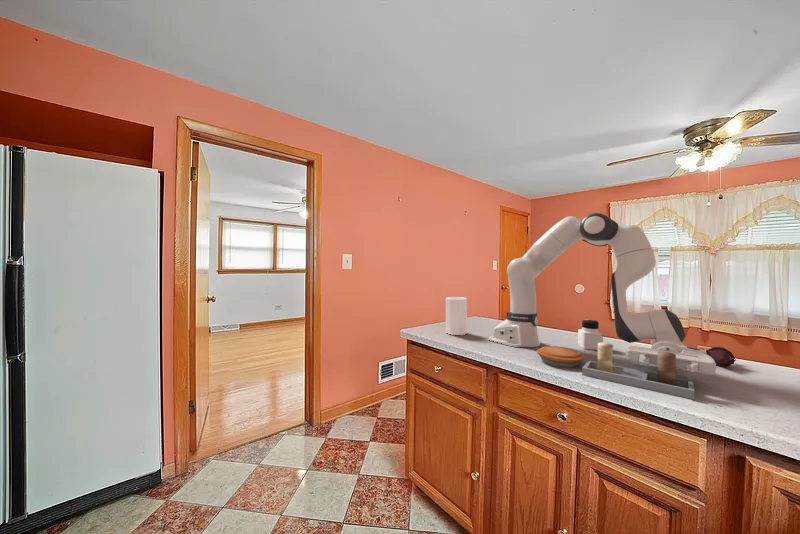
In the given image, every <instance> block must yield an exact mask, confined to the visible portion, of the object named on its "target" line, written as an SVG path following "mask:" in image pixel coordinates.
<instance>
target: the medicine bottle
mask: <svg viewBox="0 0 800 534" xmlns="http://www.w3.org/2000/svg"><path fill="white" fill-rule="evenodd" d="M599 326H600V325H599V321H597V320H595V319H583V320H582V322H581V329H577V334H578V335H577V345H578V346H579V347H580V348H582V349H584V350H589V349H590V350H591V351H598V343H604V342H603V339H604V334H603V333H601V332H600V331H599V328H600V327H599Z"/></svg>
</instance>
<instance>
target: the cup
mask: <svg viewBox="0 0 800 534" xmlns="http://www.w3.org/2000/svg"><path fill="white" fill-rule="evenodd" d="M467 309H468V298H467V297H462V296H459V297H458V296H447V297H445V334H446V333H448V334H447V335H449V334H451V335H450V336H455V335H461V336H466V335H467V332H468V331H467V330H468V327H467V326H468V325H467V324H468V323H467V321H468V318H467V317H468V316H467V315H468V310H467ZM465 334H466V335H465Z"/></svg>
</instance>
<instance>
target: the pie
mask: <svg viewBox="0 0 800 534" xmlns="http://www.w3.org/2000/svg"><path fill="white" fill-rule="evenodd" d="M536 354H537V355H539V357H540V358H541V361H542V362H543V363H545V364H547V365H550V366H554V367H558V368H568V369H569V368H576V367H578V366H579V365H580V363H581V362H582V361H583V360H584V359H585V356H584V355H583V354H582V353H580V352H579V351H578V350H576V349H572V348H570V347H569V348H568V347H564V346H557V345H547V346H542V347H541V348H538V349H536Z"/></svg>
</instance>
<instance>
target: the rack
mask: <svg viewBox="0 0 800 534" xmlns="http://www.w3.org/2000/svg"><path fill="white" fill-rule="evenodd" d="M581 375H582V376H585V377H589V378H595V379H599V380H602V381H603V380H604V381H606V382H607V381H609V382H611V383H617V384H621V385H627V386H631V387H635V388H639V389H645V390H648V391H653V392H658V393H662V394H667V395H672V396H676V397H680V398H685V399H688V400H689V399H690V400H692V401H695V387H694V381H693V380H692V379H688V378H682V377H677V376H676V386H673V385H668V384H664V383H659V382H657V372H651V371H645V370H641V369H636V368H631V367H630V368H629V367H625V366H619V365H614V364H613V373H610V372H605V371H600V370H598V361H592V360H587V362H586V363H585V364H584V365H583V366H582V367H581Z"/></svg>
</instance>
